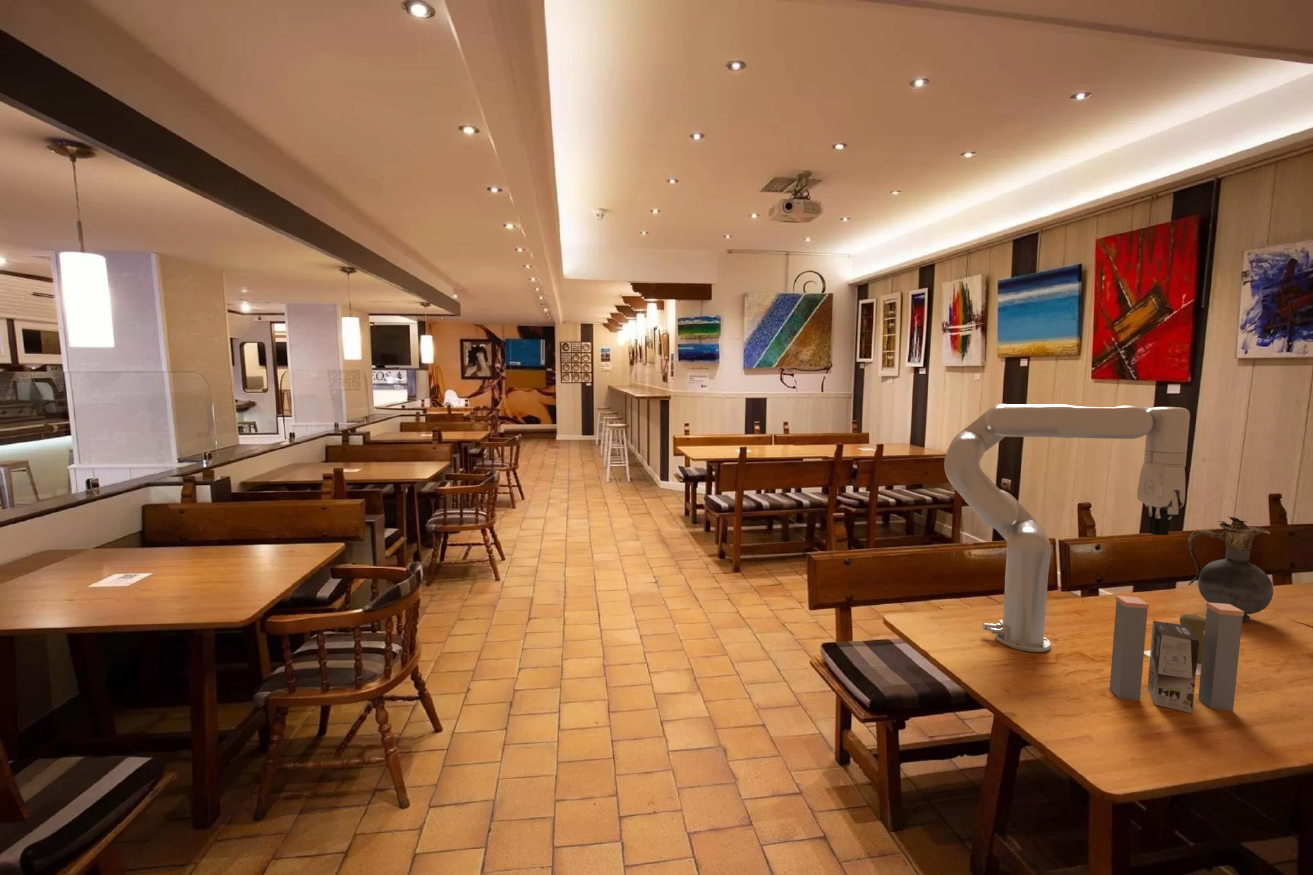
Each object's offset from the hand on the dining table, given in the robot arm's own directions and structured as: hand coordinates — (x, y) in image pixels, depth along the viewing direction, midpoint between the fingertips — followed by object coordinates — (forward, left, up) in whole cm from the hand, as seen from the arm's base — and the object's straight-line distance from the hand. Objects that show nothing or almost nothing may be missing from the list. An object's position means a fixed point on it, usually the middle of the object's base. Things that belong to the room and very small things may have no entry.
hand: (1158, 533), depth 140 cm
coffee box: (-4, -17, -33) cm, 38 cm away
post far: (+4, -17, -33) cm, 38 cm away
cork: (+13, +7, -33) cm, 36 cm away
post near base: (-13, -17, -33) cm, 39 cm away
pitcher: (+40, +41, -33) cm, 66 cm away
